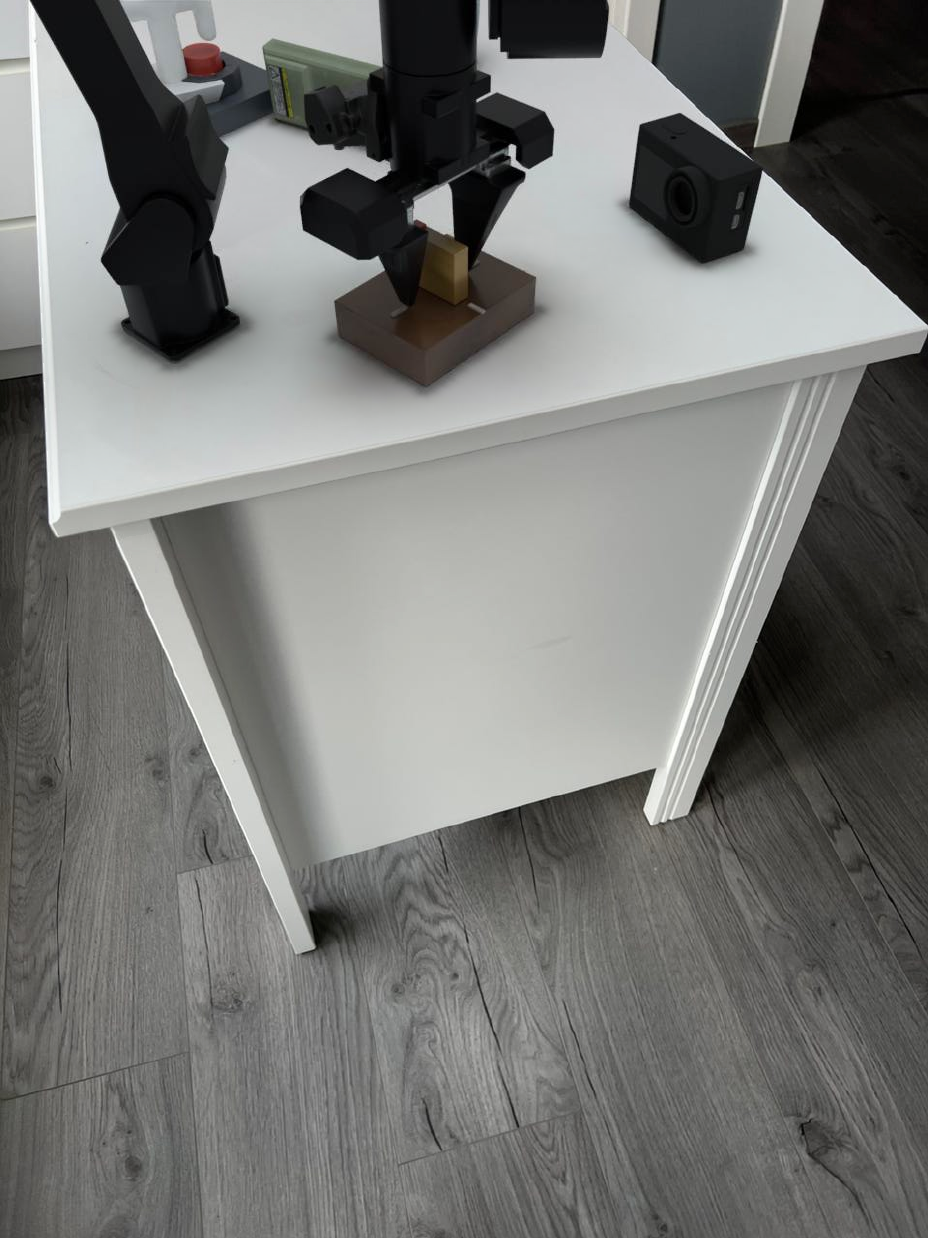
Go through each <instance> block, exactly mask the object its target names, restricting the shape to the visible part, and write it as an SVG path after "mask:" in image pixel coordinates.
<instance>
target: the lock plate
mask: <svg viewBox="0 0 928 1238" xmlns="http://www.w3.org/2000/svg"><path fill="white" fill-rule="evenodd" d="M444 235H446V236H448V237H450V238H452V239H453V240H454V235H451V234H448V233H445V234H444ZM536 286H537V276H536V275H533V274H531V273H528V272H527V271H525V270H522V269H521V268H519V267H516V266H514V265H512V264H510V263H508V262H506V261H504V260H502V259H500V258H498V257H496V256H494V255H492V254H490V253H488V252H486V251H483V249H482V250H481V252H480V254H479V256H478V257H477V259H476V261H475V263H474V265H473V267H472V269H471V270H469V271H468V297H467V298H466V299H464V300H462V301H461V302H459V303H458V304H456V305H453V304H452V303H450V302H448V301H446V300H444V299H442V298H440V297H439V296H437V295H435V294H433V293H431V292H429V291H427V290H426V289H424V288H422V287H420V286H419V289H418V293H417V296H416V299H415V303H414V305H412V306H411V307H408V306H407V305H405V304H403V303H401V302H400V300H399V298H398V296H397V294H396V292H395V290H394V288H393V286H392V284H391V282H390V280H389V278H388V276H387V273H386V271H385V270H383V271H381V272H379V273H378V274H376V275H375V276H372V277H371V278H369V279H368V280H366V281H365V282H363V283H361V284H360V285H358V286H356V287H355V288H353V289H351V290H349V291H348V292H347V293H344V294H343V295H341V296H340V297H338V298H336V299H334V300H333V306H334V312H335V313H334V314H335V320H336V321H335V322H336V330H337V337H340V338H341V339H343V340H345V341H346V342H348V343H350V344H351V345H353V346H355V347H357V348H359V349H360V350H362V351H364V352H365V353H367V354H369V355H370V356H373V357H374V358H376V359H378V360H379V361H380V362H383V363H385V364H386V365H387V366H389V367H391V368H393V369H395V370H397V371H398V372H400V373H401V374H403V375H405V376H406V377H408V378H410V379H412V380H413V381H415V382H417V383H418V384H420V385H422V386H424V387H429V386H430V385H431V384H433V383H434V382H435V381H438V379H440V378H442V377H443V376H444V375H445V374H447V373H448V372H450V371H451V370H452V369H454V368H455V367H457V366H458V365H460V364H461V363H463V362H464V361H465V360H467V359H469V358H470V357H472V356H473V355H474V354H476V353H478V352H479V351H481V349H483V348H484V347H486V346H487V345H489V344H490V343H492V342H493V341H494V340H496V339H497V338H499V337H500V336H502V335H504V333H506V332H507V331H509V330H511V329H512V328H513V327H515V326H516V325H517V324H519V323H520V322H522V321H524V319H526V318H528V317H529V316H530V315H532V314H534V313H535V303H536V289H537V287H536Z"/></svg>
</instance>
